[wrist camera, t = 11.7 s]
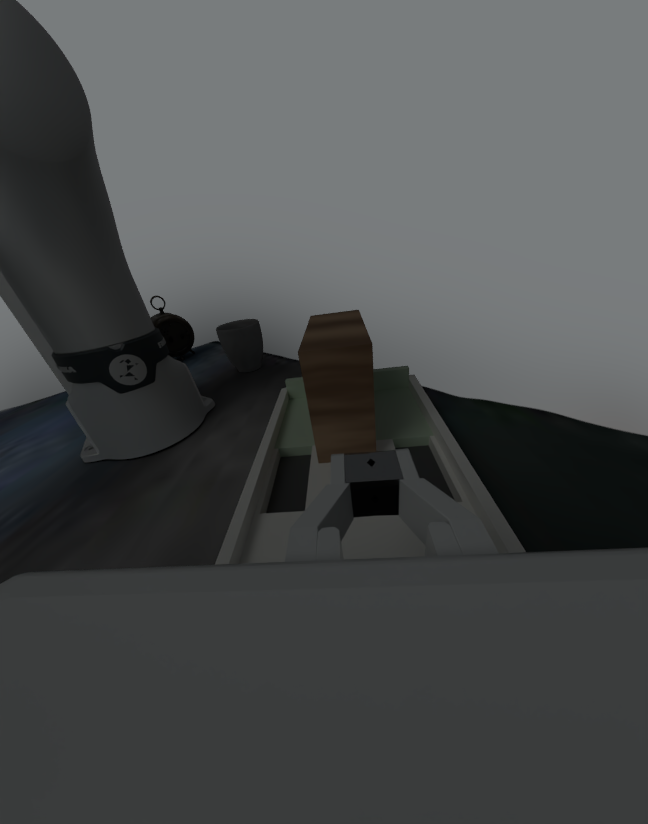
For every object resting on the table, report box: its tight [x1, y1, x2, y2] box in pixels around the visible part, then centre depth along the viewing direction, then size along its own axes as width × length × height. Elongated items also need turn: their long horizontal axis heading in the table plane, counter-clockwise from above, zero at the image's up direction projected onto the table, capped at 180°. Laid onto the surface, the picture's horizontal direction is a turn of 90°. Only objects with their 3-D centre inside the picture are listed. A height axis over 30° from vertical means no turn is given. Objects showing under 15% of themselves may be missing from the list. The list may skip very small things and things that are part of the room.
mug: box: [216, 319, 263, 372], centre depth 59 cm, size 12×9×10 cm
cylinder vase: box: [0, 270, 72, 395], centre depth 53 cm, size 12×12×25 cm
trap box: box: [215, 366, 526, 565], centre depth 26 cm, size 36×20×4 cm, turn 178°
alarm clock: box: [150, 296, 195, 360], centre depth 70 cm, size 11×5×16 cm, turn 137°
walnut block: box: [298, 310, 376, 463], centre depth 31 cm, size 14×6×12 cm, turn 178°
